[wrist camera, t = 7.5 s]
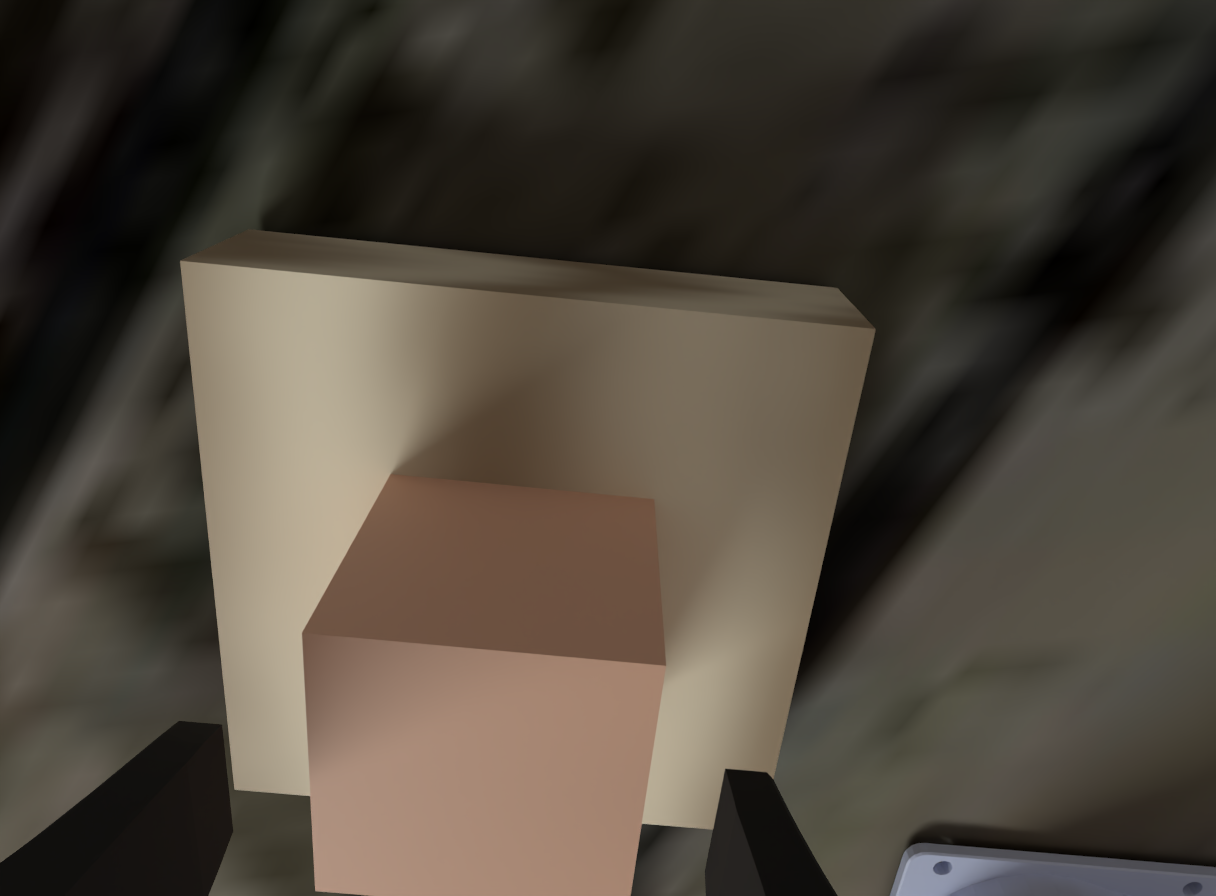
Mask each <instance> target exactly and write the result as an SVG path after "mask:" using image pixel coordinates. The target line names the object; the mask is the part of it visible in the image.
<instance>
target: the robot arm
mask: <svg viewBox="0 0 1216 896" xmlns="http://www.w3.org/2000/svg"><path fill="white" fill-rule="evenodd" d="M232 833H233V826H232V816H231V807H230V797H229V788H228V778H227V769H226V759H225V749H224V740H223V730H222V725H219V724H208V723H196V722H185V721H178V722H177V723H176V724H175V725H173V726H172V727H171V728H169V729H168V730H167V731H166V732H164V733H163V734H162V735H161V736H159V737H158V738H157V739H156V740H154V741H153V742H152V743H151V744H150V745H148V746H147V747H146V748H145V749H144V750H142V751H141V752H140V753H139V754H137V755H136V756H135V757H134V758H133V759H131V760H130V761H129V762H128V763H127V764H125V765H124V766H123V767H122V768H121V769H119V770H118V771H117V772H116V773H115V774H113V775H112V776H111V777H110V778H108V779H107V780H106V781H105V782H104V783H102V784H101V785H100V786H99V787H97V788H96V789H95V790H94V791H93V792H91V793H90V794H89V795H88V796H86V797H85V798H84V799H83V800H81V801H80V802H79V803H78V804H76V805H75V806H74V807H73V808H71V809H70V810H69V811H67V812H66V813H65V814H64V815H62V816H61V817H60V818H59V819H57V820H56V821H55V822H54V823H52V824H51V825H50V826H49V827H47V828H46V829H45V830H44V831H42V832H41V833H40V834H38V835H37V836H36V837H35V838H33V839H32V840H31V841H29V842H28V843H27V844H25V845H24V846H23V847H21V848H20V849H19V850H17V851H16V852H15V853H13V854H12V855H10V856H9V857H8V858H6V859H5V860H4V861H2V862H1V863H0V896H208V895H209V892H210V890H211V887H212V885H213V882H214V880H215V877H216V875H217V872H218V870H219V867H220V865H221V862H222V859H223V857H224V854H225V851H226V849H227V846H228V843H229V841H230V838H231V835H232ZM941 861H943V862H941ZM938 862H940V863H938ZM705 882H706V896H837V894H836V892H835V891H834V889H833V888H832V886H831V884H830V883H829V881H828V879H827V878H826V876H825V875H824V873H823V871H822V869H821V868H820V866H819V864H818V863H817V861H816V859H815V857H814V856H813V854H812V852H811V850H810V849H809V847H808V845H807V843H806V841H805V840H804V838H803V836H802V834H801V832H800V831H799V829H798V827H797V825H796V823H795V821H794V819H793V817H792V816H791V814H790V812H789V810H788V808H787V806H786V804H785V802H784V800H783V798H782V796H781V794H780V792H779V790H778V788H777V786H776V784H775V782H774V780H773V778H772V777H771V776H770V775H769V774H768V772H759V771H748V770H736V769H725V772H724V777H723V782H722V787H721V792H720V797H719V802H718V808H717V813H716V818H715V823H714V828H713V833H712V838H711V843H710V848H709V853H708V859H707V864H706V869H705ZM890 896H1216V867H1208V866H1196V865H1184V864H1172V863H1160V862H1148V861H1136V860H1124V859H1112V858H1100V857H1088V856H1076V855H1064V854H1052V853H1040V852H1028V851H1016V850H1004V849H992V848H980V847H968V846H956V845H944V844H932V843H917V844H914V845H911V846H910V847H909V848H907V849H906V851H905V852H904V854H903V856H902V859H901V863H900V866H899V869H898V872H897V875H896V878H895V881H894V884H893V887H892V891H891V894H890Z"/></svg>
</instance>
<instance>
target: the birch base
mask: <svg viewBox="0 0 1216 896" xmlns="http://www.w3.org/2000/svg"><path fill="white" fill-rule="evenodd" d="M180 264H181V273H182V283H183V293H184V302H185V312H186V322H187V332H188V341H189V351H190V361H191V371H192V380H193V390H194V400H195V409H196V419H197V429H198V439H199V448H200V458H201V468H202V477H203V487H204V497H205V507H206V516H207V526H208V536H209V545H210V555H211V565H212V575H213V584H214V594H215V604H216V614H217V623H218V633H219V643H220V652H221V662H222V672H223V682H224V691H225V701H226V711H227V720H228V730H229V740H230V750H231V759H232V769H233V779H234V788H235V790H245V791H257V792H269V793H281V794H293V795H305V796H310V778H309V759H308V740H307V721H306V702H305V683H304V664H303V645H302V632H303V630H304V628H305V626H306V625H307V623H308V621H309V619H310V617H311V616H312V614H313V612H314V610H315V609H316V607H317V605H318V603H319V601H320V600H321V598H322V596H323V594H324V592H325V591H326V589H327V587H328V585H329V583H330V582H331V580H332V578H333V576H334V574H335V573H336V571H337V569H338V567H339V566H340V564H341V562H342V560H343V558H344V557H345V555H346V553H347V551H348V549H349V548H350V546H351V544H352V542H353V540H354V539H355V537H356V535H357V533H358V531H359V530H360V528H361V526H362V524H363V523H364V521H365V519H366V517H367V515H368V514H369V512H370V510H371V508H372V506H373V505H374V503H375V501H376V499H377V497H378V496H379V494H380V492H381V490H382V488H383V487H384V485H385V483H386V481H387V480H388V478H389V476H390V474H396V475H406V476H417V477H427V478H438V479H448V480H459V481H469V482H479V483H490V484H500V485H511V486H521V487H532V488H542V489H553V490H563V491H574V492H584V493H595V494H605V495H616V496H626V497H637V498H647V499H654V503H655V517H656V531H657V545H658V559H659V573H660V587H661V601H662V615H663V629H664V643H665V657H666V670H665V676H664V683H663V689H662V696H661V702H660V709H659V715H658V721H657V728H656V734H655V741H654V747H653V754H652V760H651V766H650V773H649V779H648V786H647V792H646V799H645V805H644V812H643V818H642V824H653V825H665V826H677V827H689V828H701V829H713V828H714V823H715V818H716V813H717V808H718V802H719V797H720V792H721V787H722V782H723V777H724V772H725V769H736V770H748V771H759V772H768V774H769V775H770V776H771V777H772V778H774V774H775V770H776V765H777V761H778V756H779V752H780V748H781V743H782V739H783V734H784V730H785V726H786V721H787V717H788V712H789V708H790V704H791V699H792V695H793V690H794V686H795V682H796V677H797V673H798V669H799V664H800V660H801V655H802V651H803V647H804V642H805V638H806V633H807V629H808V625H809V620H810V616H811V611H812V607H813V603H814V598H815V594H816V589H817V585H818V581H819V576H820V572H821V568H822V563H823V559H824V554H825V550H826V546H827V541H828V537H829V532H830V528H831V524H832V519H833V515H834V510H835V506H836V502H837V497H838V493H839V489H840V484H841V480H842V475H843V471H844V467H845V462H846V458H847V453H848V449H849V445H850V440H851V436H852V431H853V427H854V423H855V418H856V414H857V409H858V405H859V401H860V396H861V392H862V388H863V383H864V379H865V374H866V370H867V366H868V361H869V357H870V352H871V348H872V344H873V339H874V335H875V330H876V329H875V328H874V327H873V326H872V324H871V323H870V322H869V321H868V320H867V319H866V318H865V317H864V316H863V315H862V314H861V313H860V312H859V311H858V309H857V308H856V307H855V306H854V305H853V304H852V303H851V302H850V301H849V300H848V299H847V298H846V297H845V296H844V295H843V293H842V292H841V291H840V290H839V289H838V288H834V287H824V286H814V285H804V284H794V283H784V282H774V281H764V280H754V279H744V278H734V277H723V276H713V275H703V274H693V273H683V272H673V271H663V270H653V269H643V268H633V267H623V266H613V265H603V264H592V263H582V262H572V261H562V260H552V259H542V258H532V257H522V256H512V255H502V254H492V253H482V252H472V251H461V250H451V249H441V248H431V247H421V246H411V245H401V244H391V243H381V242H371V241H361V240H351V239H340V238H330V237H320V236H310V235H300V234H290V233H280V232H270V231H260V230H250V229H249V230H246V231H244V232H242V233H240V234H238V235H236V236H233V237H231V238H229V239H227V240H225V241H222V242H220V243H218V244H216V245H214V246H212V247H209V248H207V249H205V250H203V251H201V252H198V253H196V254H194V255H192V256H190V257H188V258H185V259H183V260H181V261H180Z"/></svg>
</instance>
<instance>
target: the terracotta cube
mask: <svg viewBox="0 0 1216 896" xmlns="http://www.w3.org/2000/svg"><path fill="white" fill-rule="evenodd" d="M302 645H303V664H304V683H305V702H306V721H307V740H308V759H309V778H310V798H311V817H312V836H313V855H314V874H315V891H321V892H334V893H346V894H358V895H370V896H630V895H631V889H632V882H633V876H634V870H635V863H636V857H637V850H638V844H639V837H640V831H641V824H642V818H643V812H644V805H645V799H646V792H647V786H648V779H649V773H650V766H651V760H652V754H653V747H654V741H655V734H656V728H657V721H658V715H659V709H660V702H661V696H662V689H663V683H664V676H665V670H666V657H665V643H664V629H663V615H662V601H661V587H660V573H659V559H658V545H657V531H656V517H655V503H654V499H647V498H637V497H626V496H616V495H605V494H595V493H584V492H574V491H563V490H553V489H542V488H532V487H521V486H511V485H500V484H490V483H479V482H469V481H459V480H448V479H438V478H427V477H417V476H406V475H396V474H390V476H389V478H388V480H387V481H386V483H385V485H384V487H383V488H382V490H381V492H380V494H379V496H378V497H377V499H376V501H375V503H374V505H373V506H372V508H371V510H370V512H369V514H368V515H367V517H366V519H365V521H364V523H363V524H362V526H361V528H360V530H359V531H358V533H357V535H356V537H355V539H354V540H353V542H352V544H351V546H350V548H349V549H348V551H347V553H346V555H345V557H344V558H343V560H342V562H341V564H340V566H339V567H338V569H337V571H336V573H335V574H334V576H333V578H332V580H331V582H330V583H329V585H328V587H327V589H326V591H325V592H324V594H323V596H322V598H321V600H320V601H319V603H318V605H317V607H316V609H315V610H314V612H313V614H312V616H311V617H310V619H309V621H308V623H307V625H306V626H305V628H304V630H303V632H302Z"/></svg>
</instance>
